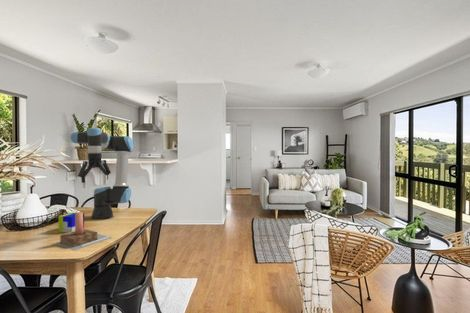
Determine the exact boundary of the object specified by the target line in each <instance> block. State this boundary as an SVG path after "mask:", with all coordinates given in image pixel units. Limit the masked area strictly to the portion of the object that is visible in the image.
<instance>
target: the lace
mask: <svg viewBox="0 0 470 313" xmlns="http://www.w3.org/2000/svg"><path fill="white" fill-rule="evenodd" d="M109 237H110V236H108V237H105V238H102V239H99V240H96V241H93V242H90V243H87V244H84V245H81V246H85V245H88V244H91V243H94V242H97V241H100V240H103V239H106V238H109Z"/></svg>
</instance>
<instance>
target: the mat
mask: <svg viewBox="0 0 470 313" xmlns="http://www.w3.org/2000/svg"><path fill="white" fill-rule="evenodd" d="M105 237H109V238H106V239H103V240H100V241H97V242H94V243H91V244H88V245H85V246H81V245H80V246H77V247H72V246H68V245H65V244H61V243H60V241H59V242H54V243H53V245H54V246H59V247H62V248H66V249H69V250H72V251H78V250H80V249H83V248H86V247H90V246H92V245H95V244H98V243H101V242H104V241H107V240H110V239H112V238H113V237H112V236H109V235H108V236H107V235H104V234H98V233H97V239H98V240H99V239H102V238H105ZM95 241H96V240H95ZM92 242H93V241H92ZM89 243H90V242H89ZM86 244H87V243H86ZM83 245H84V244H83Z"/></svg>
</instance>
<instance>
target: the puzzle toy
mask: <svg viewBox="0 0 470 313" xmlns="http://www.w3.org/2000/svg"><path fill="white" fill-rule="evenodd" d="M75 213H76V212H69V213H66V214H65V213H64V214H62V215H58V232H59V233H71V232H74V231H75ZM82 213H83V229H85V213H84V212H82Z"/></svg>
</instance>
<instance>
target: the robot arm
mask: <svg viewBox="0 0 470 313" xmlns="http://www.w3.org/2000/svg"><path fill="white" fill-rule="evenodd" d="M70 141H71V142H72V143H73V144H83V145H87V152H88V153H87V159H88V160H83V161H82V165H81V168H80V170H79V172H78V174H77V176H78V177H80V178H81V183H82V188H83V189H87V188H88V185H87V184H88V181H87V180H88V178H87V177H86V176H88V174H89V172H90V171H91V170H92V169H93V168H94V169H95V168H97V169H100V171H101V172H102V173H103V178H102V179H103V185H104V186H103V187H102V186H101V187H98V188H94V191H93V210H92V213H91V219H94V220H101V219H109V218H112V217H113V216H114V212H113V210H112V205H111V204H126V203H128V202H130V198H131V196H132V188H130V187H129V185H128V171H129V170H128V168H129V156H130V154H131V152H132V151H133V150H134V142H133V138H132V137H130V136H128V135H127V136H126V135H121V136H119V135H117V136H113V135H109V134H108V133H107V132H104V131H103V132H102V129H101V128H99V127H98V128H97V127H89V128H87V131H73V132H72V133H70ZM102 150H108V151H114V153H115V154H116V166H115V181H114V182H115V183H114V184H113V185H112V187H111V186H107V185H108V180H109V175H110V174H111V170H110V167H109V166H108V163H107V160H106V159H102V157H103V156H102Z"/></svg>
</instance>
